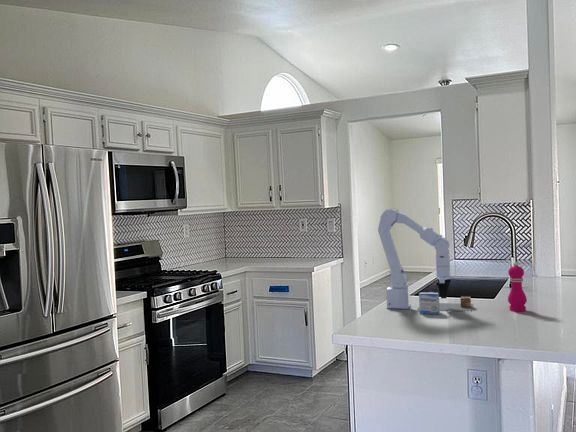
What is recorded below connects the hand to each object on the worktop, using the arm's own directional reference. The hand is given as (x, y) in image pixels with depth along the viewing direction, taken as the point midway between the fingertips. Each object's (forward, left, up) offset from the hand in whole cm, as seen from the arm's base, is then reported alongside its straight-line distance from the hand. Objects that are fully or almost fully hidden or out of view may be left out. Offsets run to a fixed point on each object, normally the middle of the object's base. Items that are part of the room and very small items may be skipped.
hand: (444, 297), depth 229 cm
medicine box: (-5, -10, -5) cm, 12 cm away
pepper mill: (+29, +1, -5) cm, 29 cm away
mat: (0, +3, -5) cm, 6 cm away
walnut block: (+8, +4, -5) cm, 10 cm away
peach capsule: (-7, +8, -5) cm, 12 cm away
